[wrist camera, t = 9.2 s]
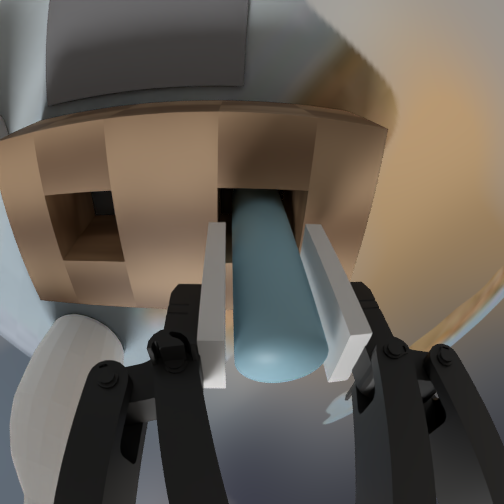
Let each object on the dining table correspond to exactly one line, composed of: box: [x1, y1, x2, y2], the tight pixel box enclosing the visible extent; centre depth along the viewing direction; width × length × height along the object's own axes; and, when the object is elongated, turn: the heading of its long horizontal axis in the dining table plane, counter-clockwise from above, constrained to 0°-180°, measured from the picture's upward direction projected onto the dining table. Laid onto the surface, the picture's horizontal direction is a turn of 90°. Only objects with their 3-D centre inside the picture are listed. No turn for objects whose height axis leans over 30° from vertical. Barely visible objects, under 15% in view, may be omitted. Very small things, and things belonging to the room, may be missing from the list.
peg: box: [232, 188, 329, 383], centre depth 14 cm, size 3×3×12 cm
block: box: [0, 100, 388, 310], centre depth 17 cm, size 12×22×6 cm, turn 87°
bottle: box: [10, 314, 124, 504], centre depth 19 cm, size 11×11×25 cm
